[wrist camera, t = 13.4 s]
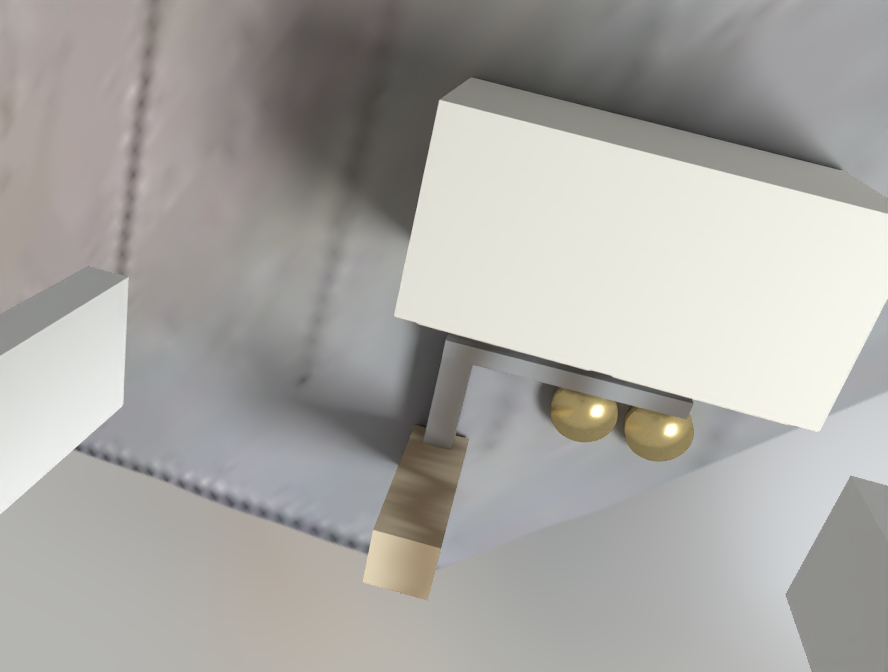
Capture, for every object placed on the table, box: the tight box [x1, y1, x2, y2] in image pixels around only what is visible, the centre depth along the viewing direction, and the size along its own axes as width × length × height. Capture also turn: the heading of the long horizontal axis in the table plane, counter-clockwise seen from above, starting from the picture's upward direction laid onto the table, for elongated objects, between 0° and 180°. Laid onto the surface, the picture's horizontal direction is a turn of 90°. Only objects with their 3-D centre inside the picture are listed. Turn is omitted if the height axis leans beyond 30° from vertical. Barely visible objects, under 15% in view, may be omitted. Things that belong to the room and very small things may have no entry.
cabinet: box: [394, 77, 888, 432], centre depth 41 cm, size 22×11×11 cm, turn 77°
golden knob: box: [551, 387, 618, 442], centre depth 52 cm, size 4×4×1 cm
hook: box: [363, 333, 693, 600], centre depth 48 cm, size 17×12×12 cm
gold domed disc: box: [624, 406, 694, 461], centre depth 51 cm, size 4×4×1 cm
